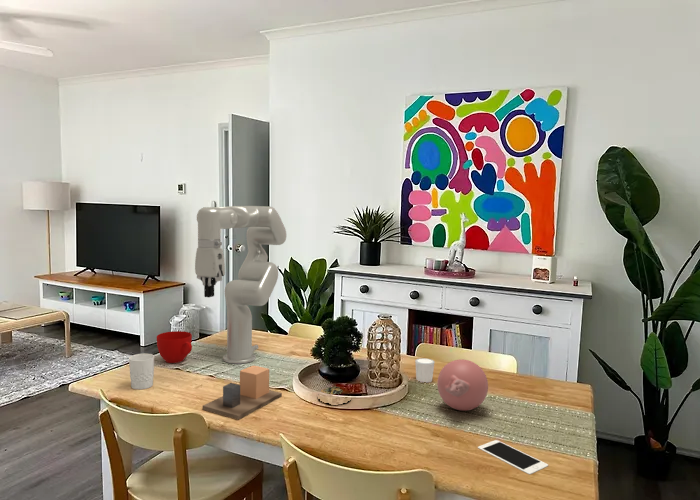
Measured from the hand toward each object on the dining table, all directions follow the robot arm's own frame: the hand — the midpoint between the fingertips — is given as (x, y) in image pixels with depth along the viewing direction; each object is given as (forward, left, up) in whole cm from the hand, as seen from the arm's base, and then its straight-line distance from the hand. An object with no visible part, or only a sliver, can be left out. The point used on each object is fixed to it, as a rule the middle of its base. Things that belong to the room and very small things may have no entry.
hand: (209, 296), depth 181 cm
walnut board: (+12, +25, -29) cm, 40 cm away
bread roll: (-6, +48, -30) cm, 56 cm away
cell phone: (+3, +105, -30) cm, 109 cm away
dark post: (+17, +25, -29) cm, 42 cm away
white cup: (+18, -13, -29) cm, 37 cm away
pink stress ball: (-18, +85, -29) cm, 92 cm away
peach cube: (+6, +25, -28) cm, 38 cm away
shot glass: (-39, +66, -29) cm, 82 cm away
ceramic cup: (-7, -23, -29) cm, 38 cm away
